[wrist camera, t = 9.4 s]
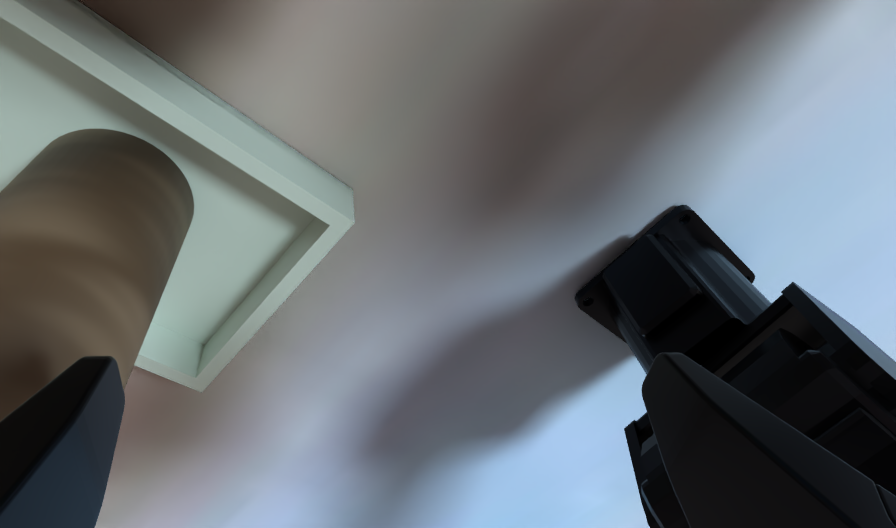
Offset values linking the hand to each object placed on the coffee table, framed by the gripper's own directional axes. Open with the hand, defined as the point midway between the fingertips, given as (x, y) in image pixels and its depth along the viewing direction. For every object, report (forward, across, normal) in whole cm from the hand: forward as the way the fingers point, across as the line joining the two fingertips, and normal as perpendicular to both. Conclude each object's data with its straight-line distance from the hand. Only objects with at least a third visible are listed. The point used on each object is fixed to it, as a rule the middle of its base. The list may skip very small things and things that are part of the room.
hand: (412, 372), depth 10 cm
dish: (+13, +8, +4) cm, 16 cm away
